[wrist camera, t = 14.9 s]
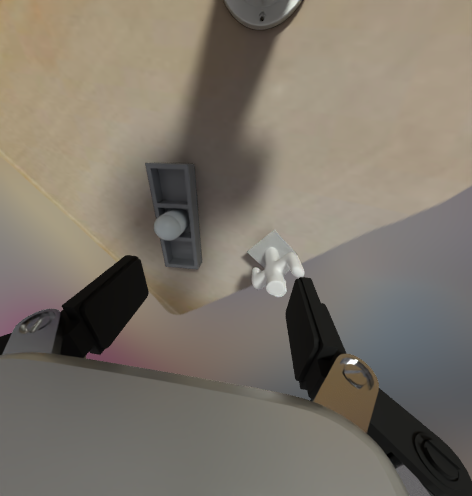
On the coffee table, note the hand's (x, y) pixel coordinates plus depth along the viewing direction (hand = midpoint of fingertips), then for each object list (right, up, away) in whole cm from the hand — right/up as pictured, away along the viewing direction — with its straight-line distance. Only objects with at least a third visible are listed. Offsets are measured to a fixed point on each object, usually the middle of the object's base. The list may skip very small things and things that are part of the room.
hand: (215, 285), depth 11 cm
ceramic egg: (-11, +8, +27) cm, 30 cm away
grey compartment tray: (-11, +9, +28) cm, 31 cm away
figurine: (+9, +3, +28) cm, 30 cm away
